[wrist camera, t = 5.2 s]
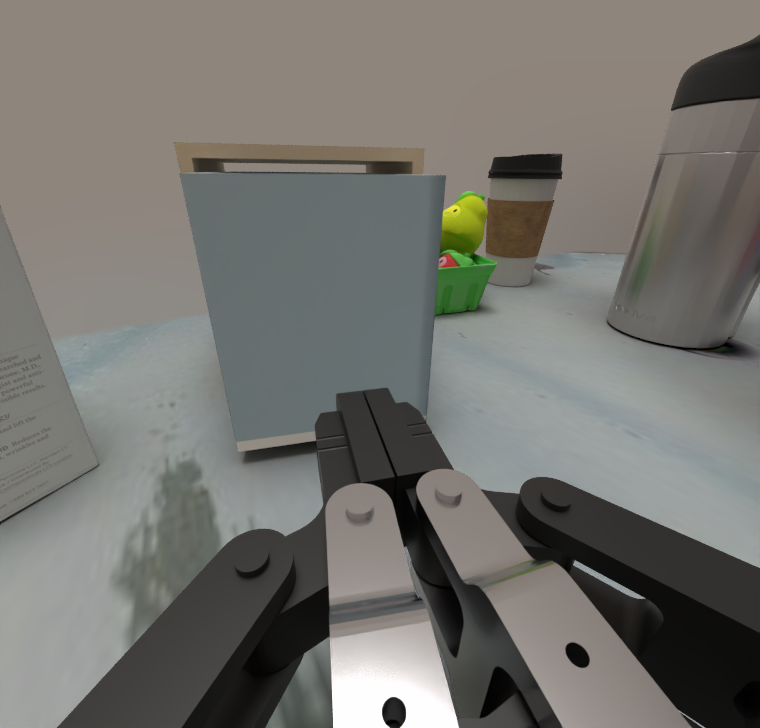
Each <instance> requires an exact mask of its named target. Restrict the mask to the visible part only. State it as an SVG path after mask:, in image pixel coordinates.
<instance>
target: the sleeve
mask: <svg viewBox="0 0 760 728" xmlns="http://www.w3.org/2000/svg"><path fill="white" fill-rule="evenodd" d="M174 144H175V149H176V154H177V158H178V163H179V168H180V173H203V172H225V171H224V164H223V163H291V164H358V165H359V164H360V165H362V164H363V165H366V173H378V174H413V175H423V165H424V149H419V148H380V147H340V146H339V147H338V146H301V145H300V146H299V145H298V146H297V145H261V144H220V143H180V142H174Z"/></svg>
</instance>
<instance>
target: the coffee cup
mask: <svg viewBox="0 0 760 728" xmlns="http://www.w3.org/2000/svg"><path fill="white" fill-rule="evenodd" d="M561 163H562V154H532V155H521V156H512V157H495V158H494V159H493V163H492V167H491V170H490V171H489V176H488V178H491V183H490V198H488V207H487V210H488V216H487V231H486V232H487V233H486V259H489V260H492V261H494V262H497V265H496V267H495V269H494V271H493V273H492V274H491V275H490V278H489V280H488V282H489V283H491V284H495V285H500V286H509V287H519V286H525V285H528V284H529V283H530V281H531V277H532V273H533V270H534V266H535V262H536V259H537V256H538V252H539V249H540V246H541V243H542V239H543V236H544V233H545V230H546V226H547V223H548V219H549V216H550V213H551V209H552V206H553V203H554V200H553V196H554V193H555V189H556V185H557V181H558V179H562V171H561Z"/></svg>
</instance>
